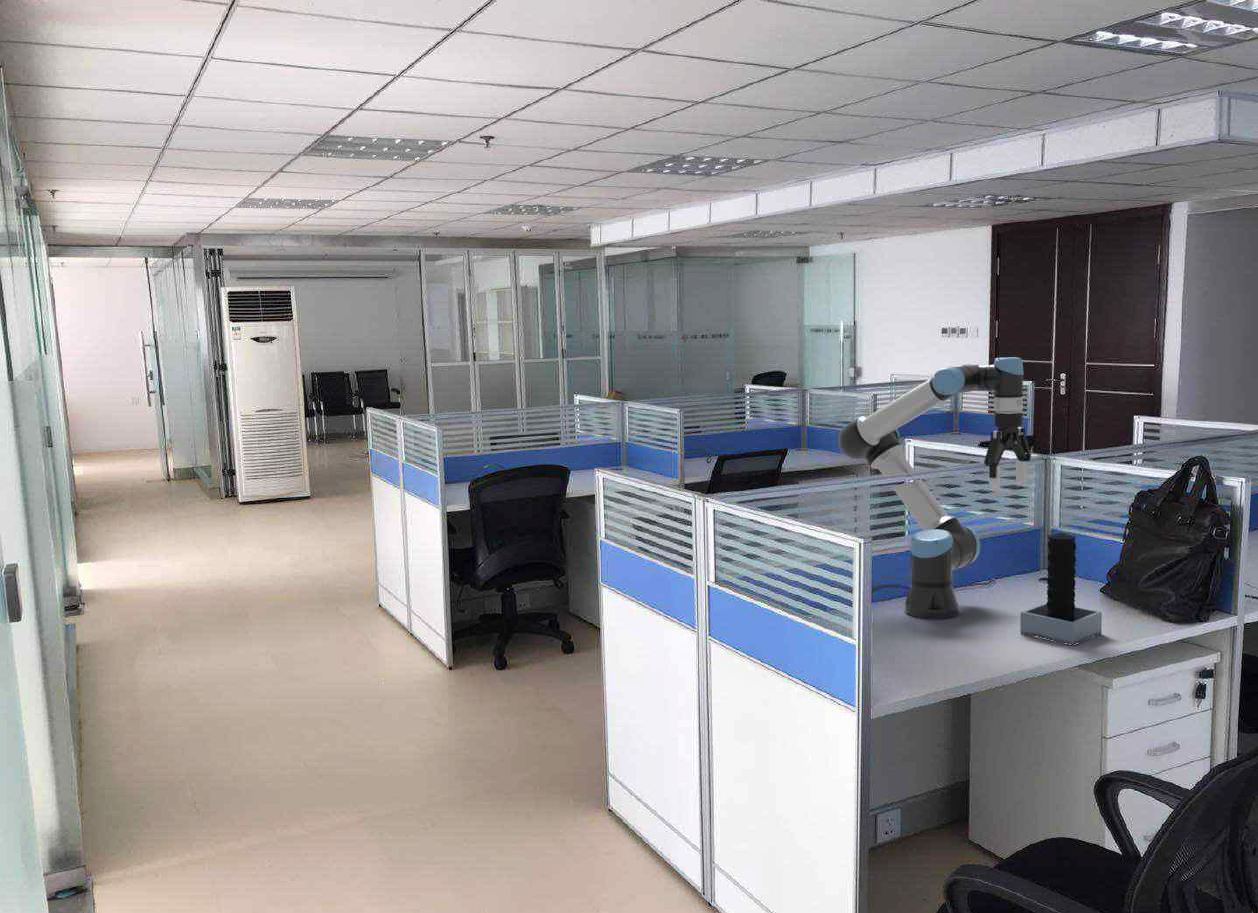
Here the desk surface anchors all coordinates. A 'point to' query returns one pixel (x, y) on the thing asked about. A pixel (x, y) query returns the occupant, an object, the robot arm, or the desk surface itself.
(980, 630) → the desk surface
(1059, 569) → the handle grip
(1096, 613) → the box
